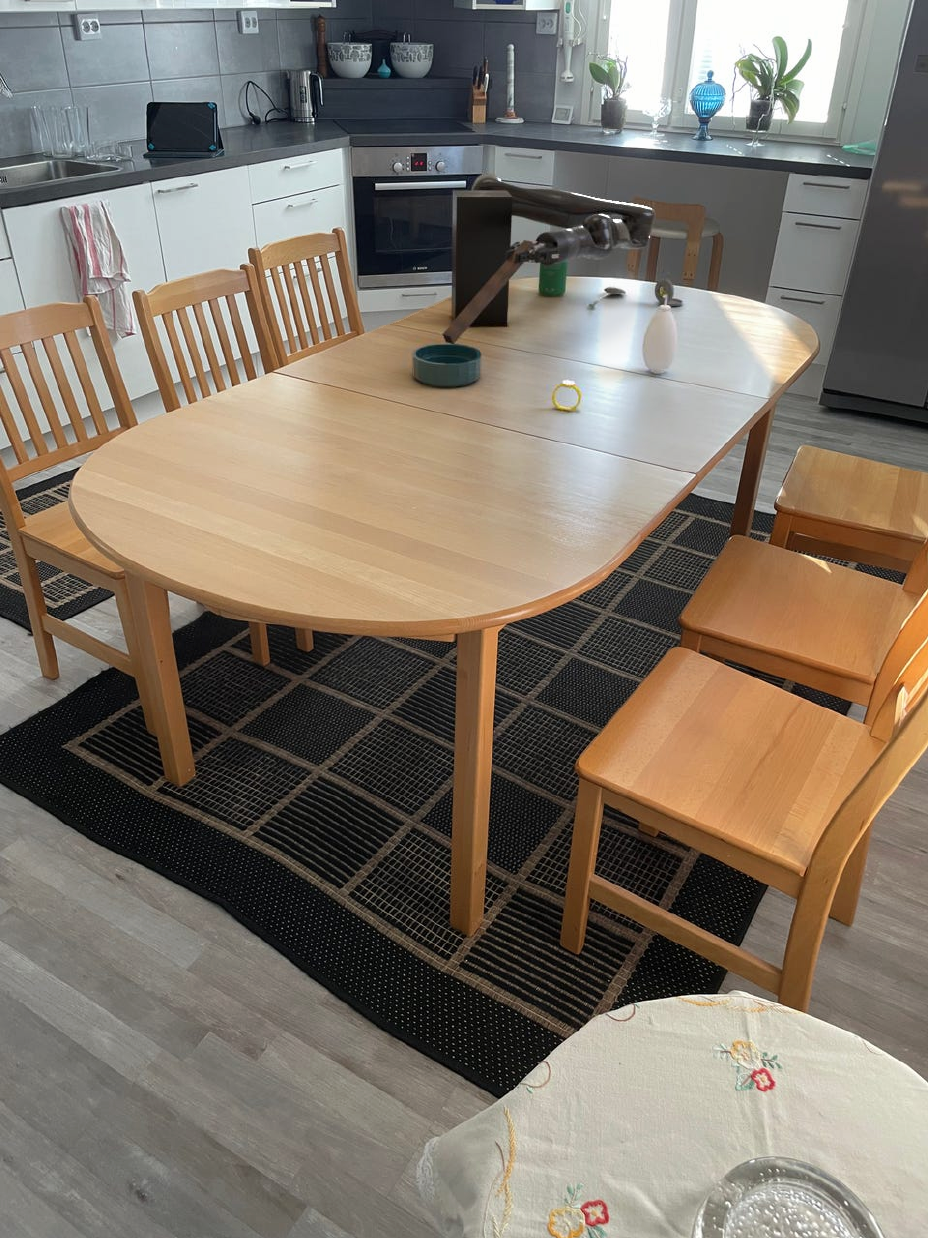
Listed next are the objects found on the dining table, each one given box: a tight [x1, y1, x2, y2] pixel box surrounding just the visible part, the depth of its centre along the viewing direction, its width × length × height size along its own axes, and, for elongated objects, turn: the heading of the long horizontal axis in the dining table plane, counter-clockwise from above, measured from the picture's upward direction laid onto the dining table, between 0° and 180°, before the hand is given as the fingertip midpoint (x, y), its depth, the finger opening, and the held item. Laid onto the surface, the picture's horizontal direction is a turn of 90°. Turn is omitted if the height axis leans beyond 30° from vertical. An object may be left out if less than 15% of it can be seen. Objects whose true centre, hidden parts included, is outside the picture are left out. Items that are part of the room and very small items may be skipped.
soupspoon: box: [588, 286, 627, 310], centre depth 275 cm, size 22×3×7 cm
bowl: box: [411, 342, 483, 388], centre depth 214 cm, size 16×16×6 cm
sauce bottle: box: [641, 293, 679, 375], centre depth 216 cm, size 8×8×18 cm
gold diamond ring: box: [551, 379, 582, 412], centre depth 198 cm, size 6×3×6 cm, turn 75°
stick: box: [442, 239, 534, 344], centre depth 215 cm, size 32×2×2 cm
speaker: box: [450, 189, 513, 328], centre depth 246 cm, size 14×10×32 cm
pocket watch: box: [654, 269, 683, 307], centre depth 271 cm, size 8×8×10 cm
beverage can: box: [538, 261, 569, 298], centre depth 278 cm, size 8×8×12 cm
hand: (511, 257), depth 216 cm, fingers closed on stick, 2 cm apart
